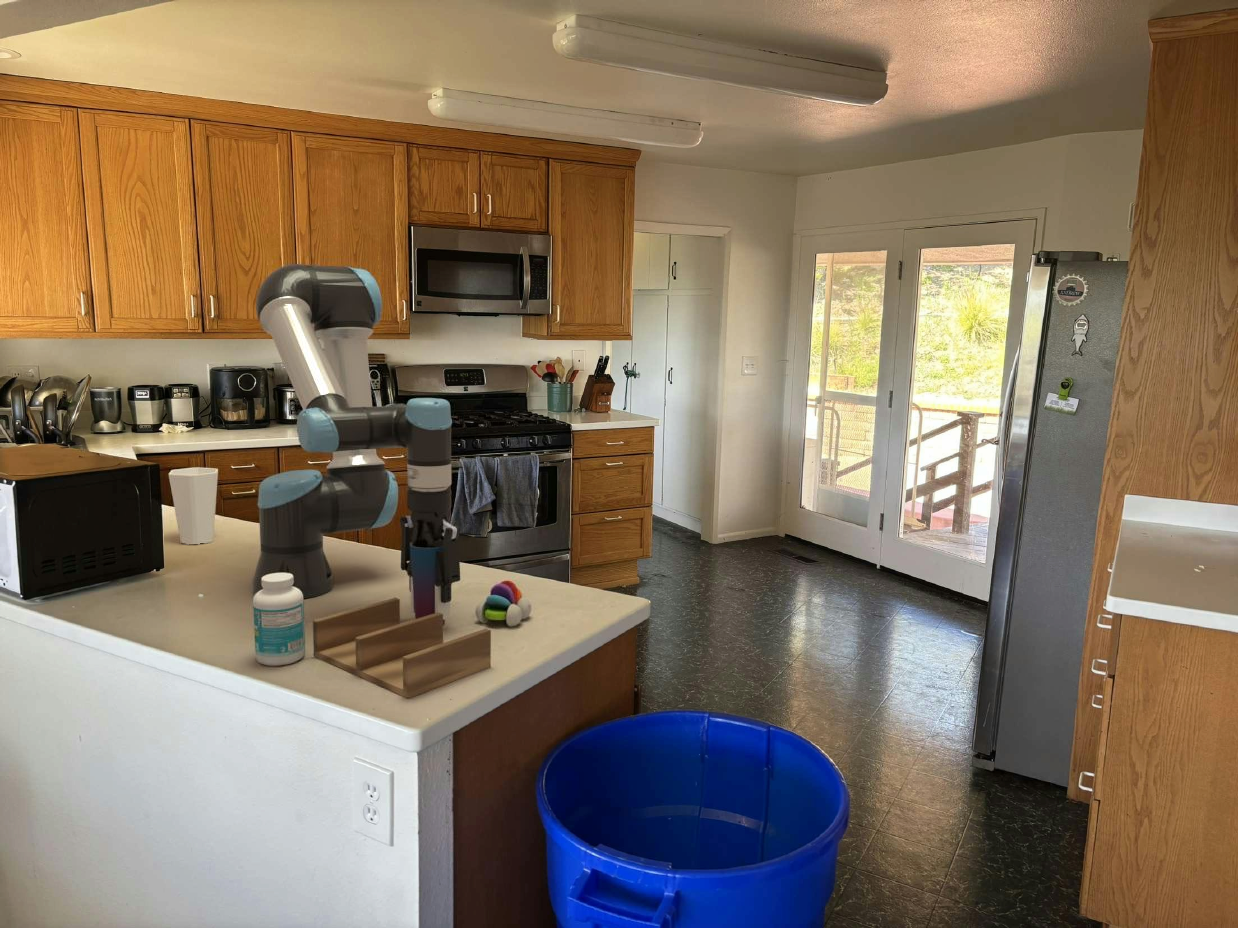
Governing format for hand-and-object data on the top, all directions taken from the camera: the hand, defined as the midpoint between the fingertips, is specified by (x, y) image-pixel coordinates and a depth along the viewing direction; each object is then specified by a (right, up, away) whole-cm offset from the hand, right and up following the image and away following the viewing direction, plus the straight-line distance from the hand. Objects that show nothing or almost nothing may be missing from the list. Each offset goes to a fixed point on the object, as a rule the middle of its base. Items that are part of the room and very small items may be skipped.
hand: (430, 614), depth 154 cm
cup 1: (-67, +8, +53) cm, 86 cm away
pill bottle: (-20, -4, -17) cm, 27 cm away
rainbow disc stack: (+13, -2, +4) cm, 13 cm away
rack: (-1, -5, -17) cm, 17 cm away
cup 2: (0, -2, 0) cm, 2 cm away
